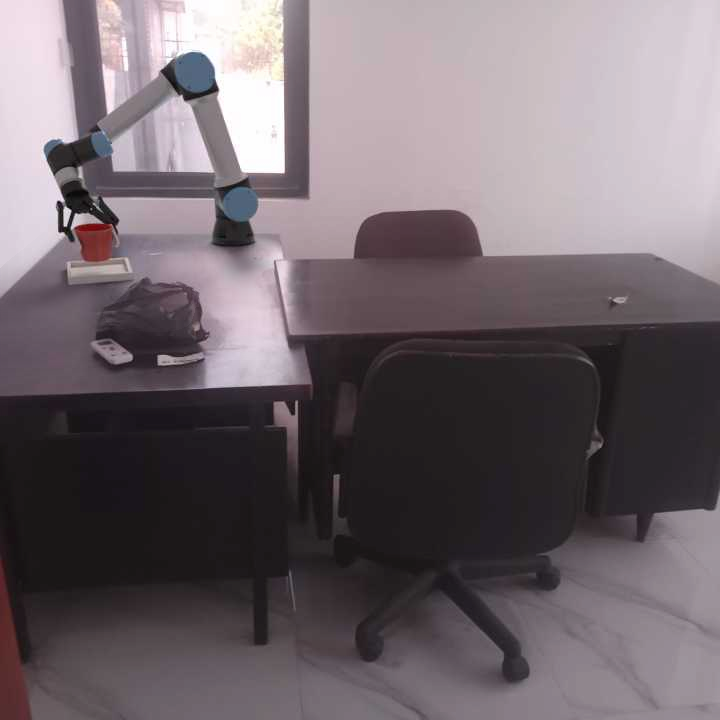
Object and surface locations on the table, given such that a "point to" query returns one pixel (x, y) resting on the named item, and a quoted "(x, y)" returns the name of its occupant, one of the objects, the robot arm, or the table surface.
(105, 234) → the flower pot
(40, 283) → the table surface
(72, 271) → the drip tray
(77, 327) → the table surface
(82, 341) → the table surface
